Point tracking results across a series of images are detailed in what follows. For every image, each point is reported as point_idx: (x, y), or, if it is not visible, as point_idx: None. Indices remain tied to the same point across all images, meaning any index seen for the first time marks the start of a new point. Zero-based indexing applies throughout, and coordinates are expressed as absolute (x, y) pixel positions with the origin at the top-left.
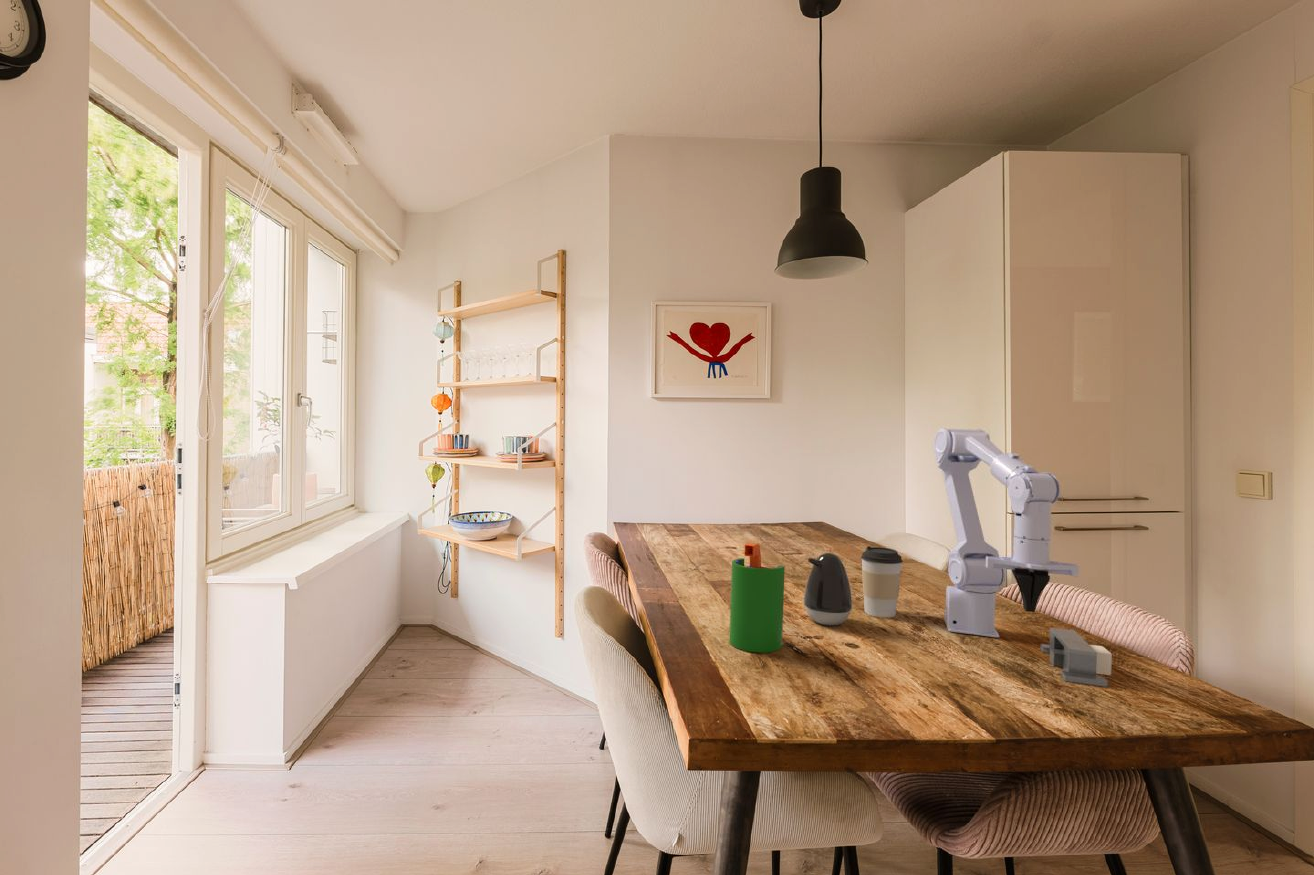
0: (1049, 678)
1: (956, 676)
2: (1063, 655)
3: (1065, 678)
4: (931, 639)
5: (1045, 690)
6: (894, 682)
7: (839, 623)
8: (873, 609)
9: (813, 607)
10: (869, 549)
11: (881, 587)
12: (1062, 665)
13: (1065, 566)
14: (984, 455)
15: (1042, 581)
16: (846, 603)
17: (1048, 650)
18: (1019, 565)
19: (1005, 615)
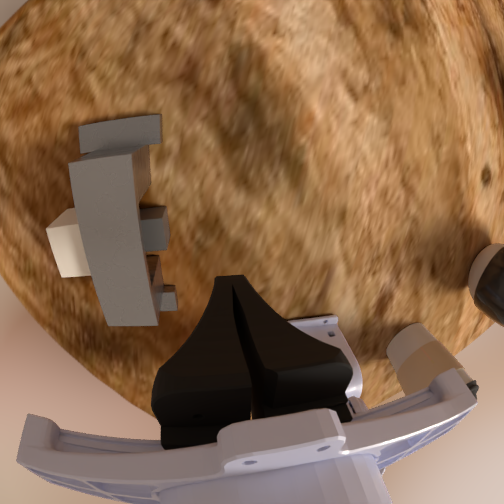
0: (193, 115)
1: (388, 65)
2: (141, 218)
3: (160, 114)
4: (381, 259)
5: (224, 37)
6: (461, 38)
7: (480, 253)
8: (426, 329)
9: None
10: None
11: (442, 354)
12: (147, 209)
13: (64, 469)
14: None
15: (197, 364)
16: (499, 267)
17: (164, 289)
18: (374, 425)
19: None
